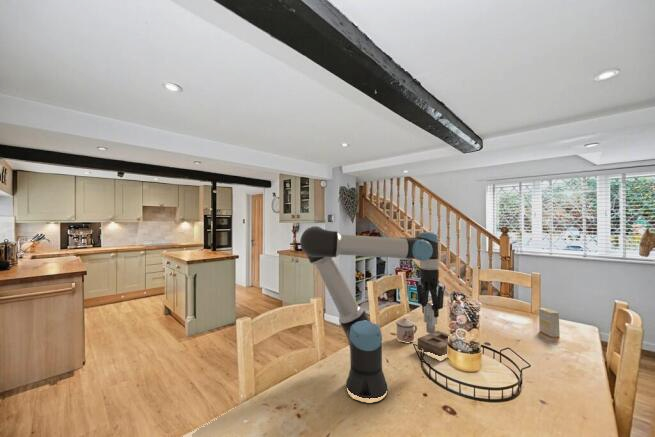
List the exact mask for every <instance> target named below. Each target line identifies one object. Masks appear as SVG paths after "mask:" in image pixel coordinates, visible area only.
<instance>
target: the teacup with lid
mask: <svg viewBox="0 0 655 437" xmlns="http://www.w3.org/2000/svg"><path fill="white" fill-rule="evenodd" d="M395 324H396V339H397V338H398V339H399V340H401V341H405V342H411V341H413V340H414V341H415V334H416V333H417V331H418V327H417V325H416V324H415V323H414V322H413V321H411V320H409V319H408V318H407V317H406V316H404V317H403V318H402V319H401V318H400V319H398V320H397V321H396V323H395Z"/></svg>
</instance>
